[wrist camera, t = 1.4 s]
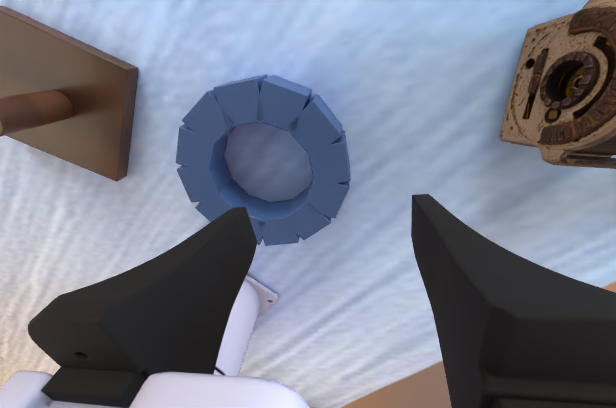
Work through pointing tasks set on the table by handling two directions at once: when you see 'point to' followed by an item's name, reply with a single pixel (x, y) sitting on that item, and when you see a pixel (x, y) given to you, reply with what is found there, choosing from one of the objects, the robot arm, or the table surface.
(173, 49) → the table surface
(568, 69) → the mechanical counter
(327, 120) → the ring
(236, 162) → the table surface
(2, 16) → the brown peg stand
